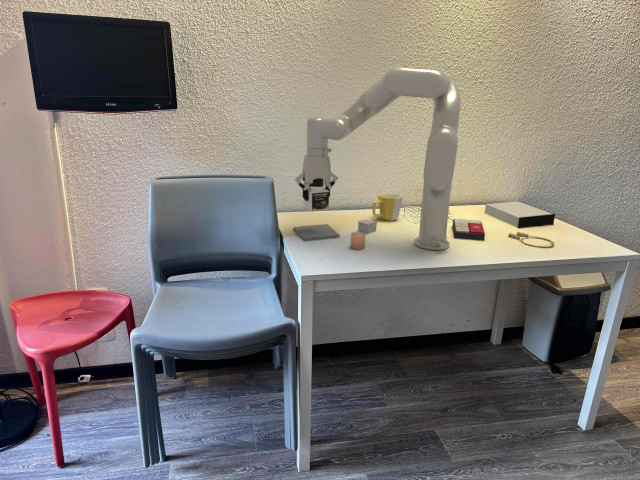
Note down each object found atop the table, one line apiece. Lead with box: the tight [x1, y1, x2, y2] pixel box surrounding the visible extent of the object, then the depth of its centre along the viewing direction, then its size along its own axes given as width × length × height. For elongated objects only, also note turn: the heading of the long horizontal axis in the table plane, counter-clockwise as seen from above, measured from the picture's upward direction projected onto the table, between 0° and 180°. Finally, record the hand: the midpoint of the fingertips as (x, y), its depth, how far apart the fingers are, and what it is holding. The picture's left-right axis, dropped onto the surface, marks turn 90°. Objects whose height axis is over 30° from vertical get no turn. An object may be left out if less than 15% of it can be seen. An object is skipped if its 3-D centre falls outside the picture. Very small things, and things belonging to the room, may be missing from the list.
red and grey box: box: [451, 218, 486, 242], centre depth 191 cm, size 11×4×15 cm
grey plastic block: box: [357, 218, 378, 235], centre depth 192 cm, size 5×5×4 cm
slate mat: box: [292, 223, 341, 242], centre depth 188 cm, size 14×14×1 cm
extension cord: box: [507, 231, 555, 249], centre depth 184 cm, size 12×16×2 cm
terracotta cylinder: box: [350, 231, 366, 251], centre depth 174 cm, size 5×5×5 cm
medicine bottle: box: [303, 178, 330, 212], centre depth 183 cm, size 7×7×12 cm
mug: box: [372, 191, 404, 222], centre depth 206 cm, size 14×10×10 cm
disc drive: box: [484, 201, 556, 229], centre depth 211 cm, size 18×22×5 cm
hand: (316, 199), depth 184 cm, fingers closed on medicine bottle, 7 cm apart
